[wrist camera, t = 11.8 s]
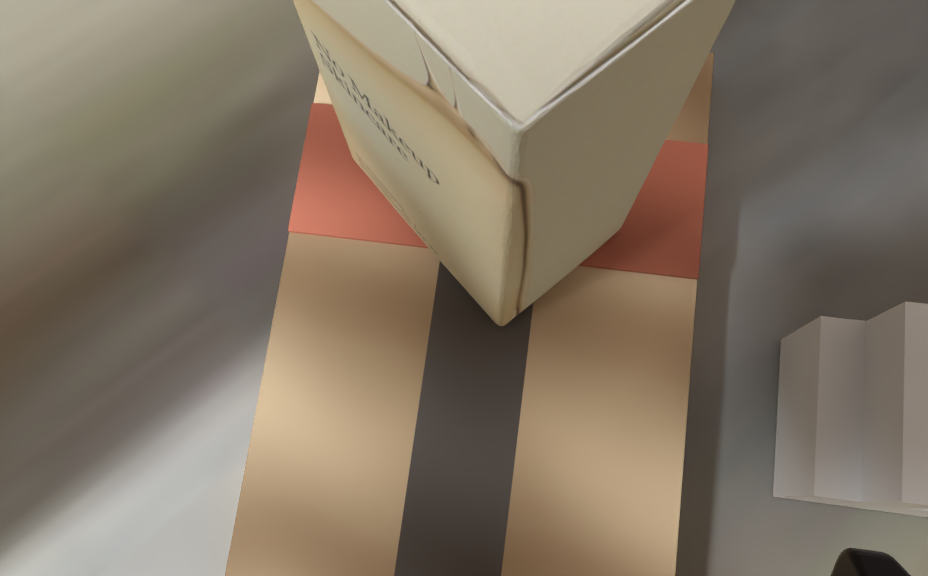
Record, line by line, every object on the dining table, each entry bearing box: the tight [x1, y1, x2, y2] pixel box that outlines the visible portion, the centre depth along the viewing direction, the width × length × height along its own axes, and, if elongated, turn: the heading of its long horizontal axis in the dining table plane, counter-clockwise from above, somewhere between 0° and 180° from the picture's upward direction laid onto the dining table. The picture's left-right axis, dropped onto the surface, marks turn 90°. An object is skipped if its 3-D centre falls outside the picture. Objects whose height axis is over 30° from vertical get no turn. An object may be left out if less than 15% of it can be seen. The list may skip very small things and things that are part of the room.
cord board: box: [225, 53, 714, 576], centre depth 22 cm, size 17×10×1 cm, turn 172°
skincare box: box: [293, 0, 736, 326], centre depth 17 cm, size 6×4×12 cm
